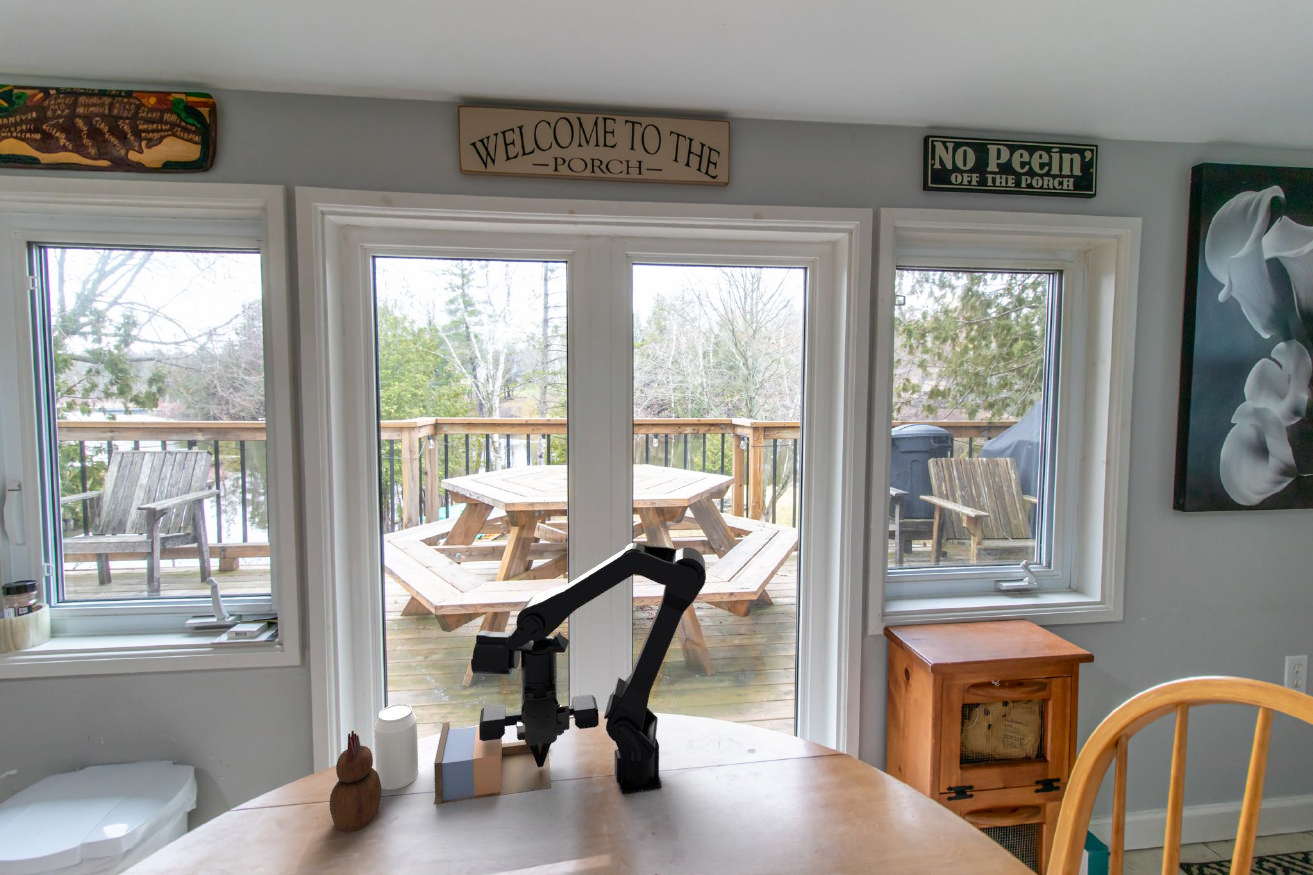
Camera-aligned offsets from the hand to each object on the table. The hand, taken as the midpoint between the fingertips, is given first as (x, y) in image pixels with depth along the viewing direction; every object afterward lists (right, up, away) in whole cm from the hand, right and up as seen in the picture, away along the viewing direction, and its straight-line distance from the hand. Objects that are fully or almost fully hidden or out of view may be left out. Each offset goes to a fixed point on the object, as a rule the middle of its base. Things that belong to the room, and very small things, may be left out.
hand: (540, 765), depth 99 cm
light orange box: (-8, -1, -2) cm, 8 cm away
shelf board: (-7, -2, -1) cm, 7 cm away
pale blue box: (-12, -1, -3) cm, 13 cm away
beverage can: (-23, -2, -2) cm, 23 cm away
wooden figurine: (-25, -3, -11) cm, 27 cm away
